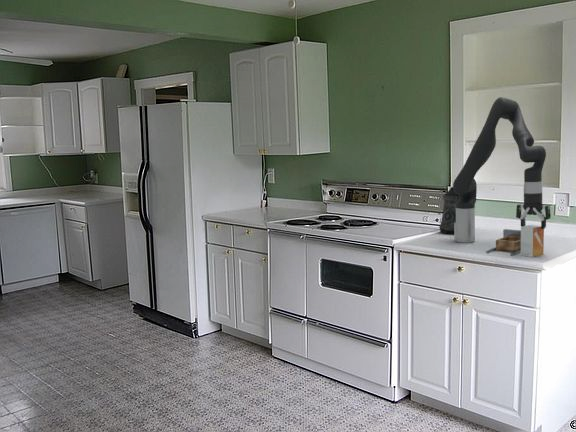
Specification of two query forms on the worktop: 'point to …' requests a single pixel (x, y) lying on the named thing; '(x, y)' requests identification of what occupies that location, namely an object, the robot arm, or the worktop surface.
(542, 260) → the worktop surface
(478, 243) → the worktop surface
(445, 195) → the beer stein
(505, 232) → the backstop track
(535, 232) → the small box
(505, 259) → the worktop surface
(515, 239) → the socket block
